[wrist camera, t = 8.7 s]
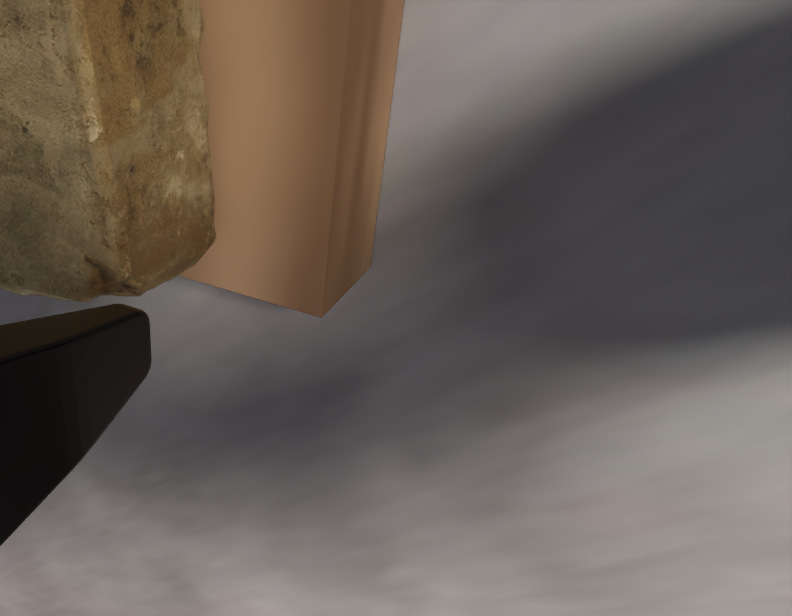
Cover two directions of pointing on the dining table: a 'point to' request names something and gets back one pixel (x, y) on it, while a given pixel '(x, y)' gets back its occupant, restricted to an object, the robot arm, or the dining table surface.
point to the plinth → (296, 143)
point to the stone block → (102, 146)
